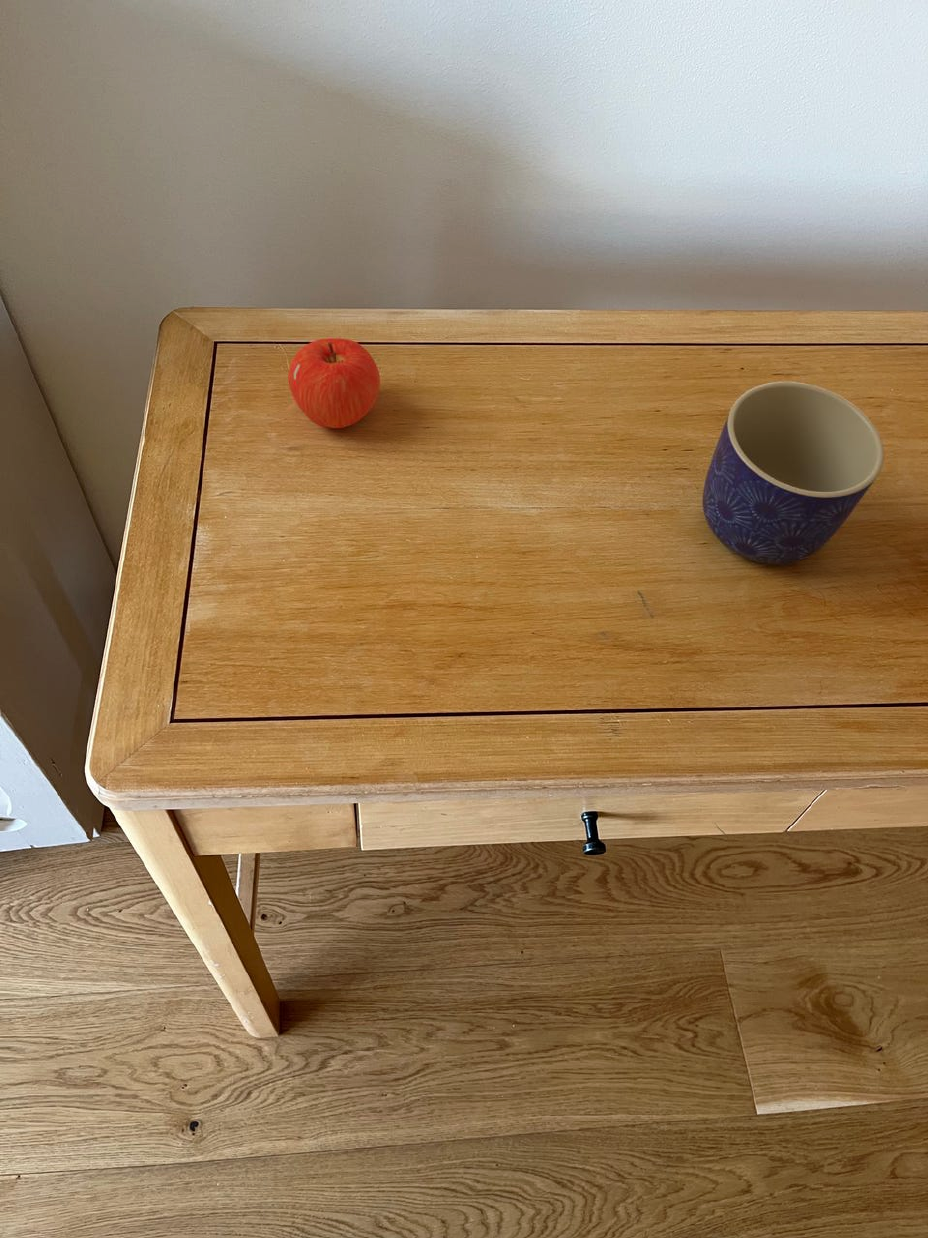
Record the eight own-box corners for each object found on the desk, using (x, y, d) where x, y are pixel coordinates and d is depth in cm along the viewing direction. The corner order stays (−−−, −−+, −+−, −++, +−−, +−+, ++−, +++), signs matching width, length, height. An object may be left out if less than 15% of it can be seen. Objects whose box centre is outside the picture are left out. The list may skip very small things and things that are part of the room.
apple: (306, 452, 83) (299, 385, 76) (283, 391, 87) (274, 321, 80) (391, 433, 85) (392, 365, 78) (364, 373, 89) (362, 305, 82)
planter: (665, 533, 81) (701, 445, 72) (726, 449, 87) (766, 359, 77) (796, 604, 77) (851, 522, 68) (849, 512, 83) (906, 425, 74)
